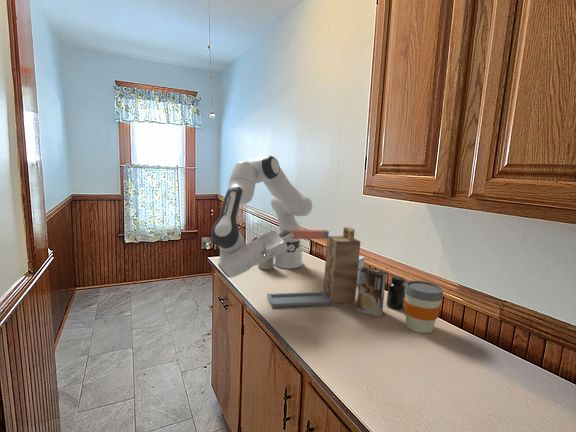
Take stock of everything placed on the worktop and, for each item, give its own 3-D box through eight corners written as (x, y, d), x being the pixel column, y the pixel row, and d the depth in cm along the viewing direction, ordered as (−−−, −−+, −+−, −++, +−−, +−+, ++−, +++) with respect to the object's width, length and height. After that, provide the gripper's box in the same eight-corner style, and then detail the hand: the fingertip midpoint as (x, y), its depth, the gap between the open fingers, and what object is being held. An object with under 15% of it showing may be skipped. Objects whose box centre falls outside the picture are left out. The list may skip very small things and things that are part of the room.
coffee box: (383, 311, 127) (387, 271, 125) (379, 317, 122) (384, 276, 119) (360, 305, 132) (363, 267, 129) (355, 311, 126) (359, 271, 124)
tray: (267, 297, 134) (267, 293, 133) (322, 295, 140) (322, 291, 139) (272, 308, 124) (272, 304, 124) (331, 305, 130) (331, 301, 130)
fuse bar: (282, 237, 127) (282, 229, 127) (325, 237, 132) (326, 229, 131) (283, 238, 124) (284, 231, 124) (328, 238, 129) (328, 231, 128)
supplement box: (356, 285, 154) (359, 259, 152) (342, 281, 159) (344, 256, 157) (363, 281, 160) (365, 256, 158) (349, 277, 164) (351, 253, 162)
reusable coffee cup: (418, 338, 108) (423, 295, 106) (393, 320, 120) (397, 281, 117) (446, 332, 113) (452, 291, 111) (419, 316, 124) (424, 279, 122)
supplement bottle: (405, 311, 129) (408, 281, 127) (387, 308, 130) (390, 279, 128) (402, 304, 135) (405, 276, 134) (385, 301, 137) (388, 274, 135)
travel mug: (255, 265, 174) (257, 232, 172) (269, 264, 178) (271, 232, 175) (261, 270, 167) (262, 236, 165) (275, 269, 171) (277, 235, 168)
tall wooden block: (322, 295, 140) (328, 225, 135) (344, 294, 142) (350, 225, 138) (331, 305, 130) (337, 230, 126) (354, 303, 133) (361, 230, 128)
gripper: (260, 250, 114) (295, 231, 116) (252, 237, 133) (282, 221, 135) (268, 265, 115) (302, 246, 117) (259, 250, 135) (288, 234, 137)
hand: (291, 233), depth 126 cm, fingers closed on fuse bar, 3 cm apart
